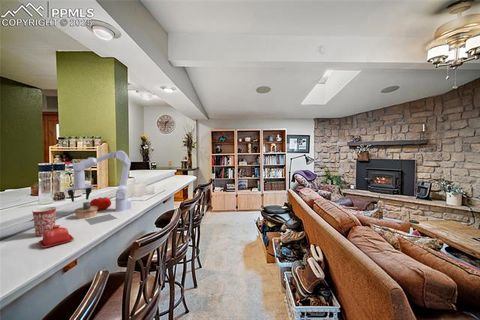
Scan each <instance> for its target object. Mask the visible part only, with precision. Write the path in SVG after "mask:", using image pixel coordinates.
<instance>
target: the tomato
mask: <svg viewBox="0 0 480 320" xmlns="http://www.w3.org/2000/svg"><path fill="white" fill-rule="evenodd" d="M89 202H90V206H97V207H98V210H97V211H102V210H106V209H109V208H110V207H111V205H112V201H111V199H110V198H109V197H106V196H104V197H98V198H94V199H91V201H89Z"/></svg>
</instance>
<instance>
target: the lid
mask: <svg viewBox="0 0 480 320" xmlns="http://www.w3.org/2000/svg"><path fill="white" fill-rule="evenodd" d="M90 202H91V201H85V202H83V203H82V206H81V207H78V208H76V209H74V213H75V214H76V213H87V212H92V211H95V210H97V211H99V210H98V207H97V206H90Z"/></svg>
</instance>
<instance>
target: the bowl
mask: <svg viewBox="0 0 480 320" xmlns="http://www.w3.org/2000/svg"><path fill="white" fill-rule="evenodd" d="M97 216H98V210H95V211H92V212H87V213H75V218H76V219H78V220H84V219H89V218H93V217H97Z"/></svg>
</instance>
